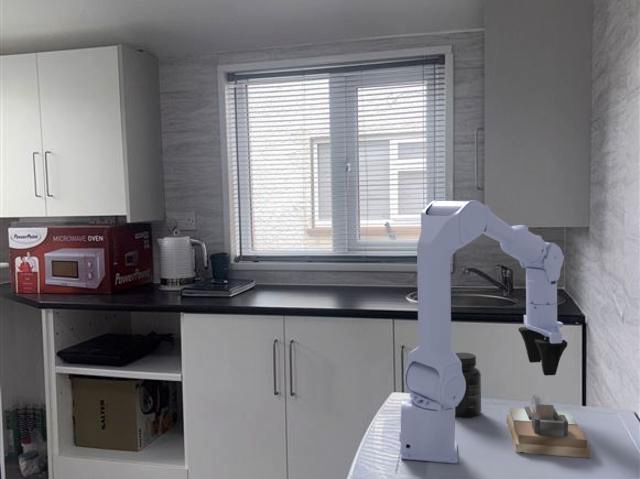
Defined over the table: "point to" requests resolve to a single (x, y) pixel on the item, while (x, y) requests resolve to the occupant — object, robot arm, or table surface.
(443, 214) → the robot arm
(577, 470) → the table surface
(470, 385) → the supplement bottle
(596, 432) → the table surface
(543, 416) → the bolt
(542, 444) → the lock board
